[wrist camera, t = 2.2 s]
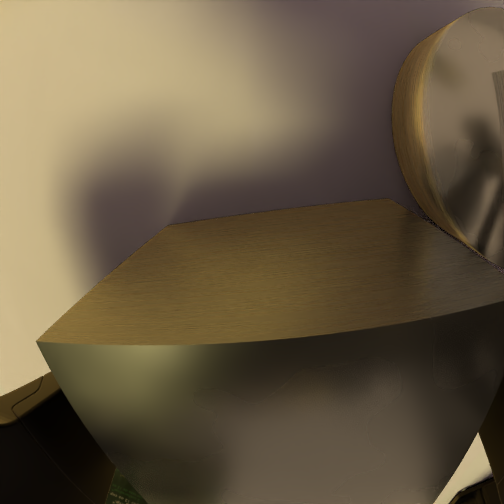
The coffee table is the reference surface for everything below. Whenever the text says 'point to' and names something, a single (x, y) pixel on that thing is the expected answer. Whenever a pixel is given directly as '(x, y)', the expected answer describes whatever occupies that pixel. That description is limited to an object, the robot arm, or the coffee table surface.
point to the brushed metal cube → (287, 358)
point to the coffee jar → (123, 491)
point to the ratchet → (456, 129)
